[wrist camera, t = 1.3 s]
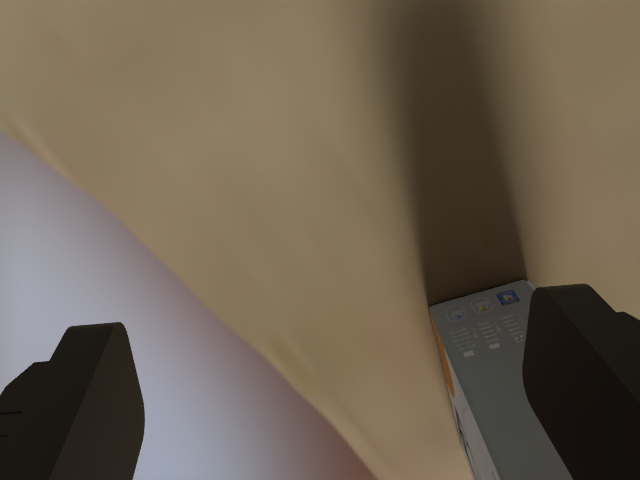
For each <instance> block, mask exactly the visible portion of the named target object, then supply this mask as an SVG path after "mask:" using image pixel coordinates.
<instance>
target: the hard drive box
mask: <svg viewBox="0 0 640 480" xmlns="http://www.w3.org/2000/svg"><path fill="white" fill-rule="evenodd" d="M534 290H535V287H534V286H533V285H532V284H531V282H530V281H525V280H520V281H517V282H513V283H509V284H506V285H503V286H499V287H495V288H492V289H489V290H485V291H482V292H478V293H475V294H471V295H468V296H464V297H461V298H457V299H454V300H450V301H446V302H443V303H440V304H436V305H433V306H431V307H430V308H429V311H430V316H431V321H432V325H433V329H434V333H435V337H436V341H437V345H438V349H439V354H440V358H441V362H442V366H443V370H444V375H445V379H446V383H447V387H448V391H449V395H450V399H451V404H452V408H453V412H454V416H455V420H456V424H457V428H458V432H459V436H460V440H461V444H462V448H463V452H464V454H465V457H466V460H467V463H468V465H469V468H470V471H471V474H472V476H473V479H474V480H573V478H572V476H571V475H570V473H569V471H568V470H567V468H566V466H565V464H564V463H563V461H562V459H561V458H560V456H559V454H558V452H557V451H556V449H555V447H554V446H553V444H552V442H551V440H550V439H549V437H548V435H547V434H546V432H545V430H544V428H543V427H542V425H541V423H540V421H539V420H538V418H537V416H536V415H535V413H534V411H533V409H532V408H531V406H530V404H529V402H528V399H527V396H526V393H525V389H524V384H523V376H522V365H523V357H524V348H525V340H526V332H527V324H528V316H529V308H530V301H531V297H532V294H533V292H534Z"/></svg>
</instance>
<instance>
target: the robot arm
mask: <svg viewBox="0 0 640 480" xmlns="http://www.w3.org/2000/svg"><path fill="white" fill-rule="evenodd" d="M522 376H523V384H524V389H525V393H526V396H527V399H528V402H529V404H530V406H531V408H532V409H533V411H534V413H535V415H536V416H537V418H538V420H539V421H540V423H541V425H542V427H543V428H544V430H545V432H546V434H547V435H548V437H549V439H550V440H551V442H552V444H553V446H554V447H555V449H556V451H557V452H558V454H559V456H560V458H561V459H562V461H563V463H564V464H565V466H566V468H567V470H568V471H569V473H570V475H571V476H572V478H573V480H640V320H638V319H636V318H635V317H633V316H631V315H629V314H627V313H625V312H615V311H614V310H613V309H612V308H611V307H610V306H609V305H608V304H607V303H606V302H605V301H604V300H603V299H602V298H601V296H600V295H599V294H598V293H597V292H596V291H595V290H594V289H593V288H592V287H590V286H589V285H587V284H573V285H561V286H550V287H539V288H536V289H535V290H534V292H533V294H532V297H531V301H530V308H529V316H528V324H527V332H526V340H525V348H524V357H523V365H522ZM144 414H145V413H144V403H143V398H142V394H141V389H140V386H139V381H138V377H137V373H136V368H135V364H134V360H133V356H132V351H131V347H130V343H129V338H128V335H127V332H126V329H125V327H124V325H123V324H122V323H121V322H116V323H104V324H92V325H80V326H71V327H69V328H68V329H67V330H66V332H65V333H64V335H63V337H62V339H61V341H60V342H59V344H58V346H57V348H56V350H55V351H54V353H53V355H52V357H51V359H50V361H45V362H35V363H33V364H32V365H31V366H29V367H28V368H27V369H26V370H25V371H24V372H23V373H21V374H20V375H19V376H18V377H17V378H15V379H14V380H13V381H12V382H11V383H9V384H8V385H7V386H6V387H5V389H4V391H3V392H2V394H1V395H0V480H132V479H133V475H134V472H135V468H136V464H137V460H138V456H139V452H140V449H141V445H142V441H143V436H144V425H145V415H144Z"/></svg>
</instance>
